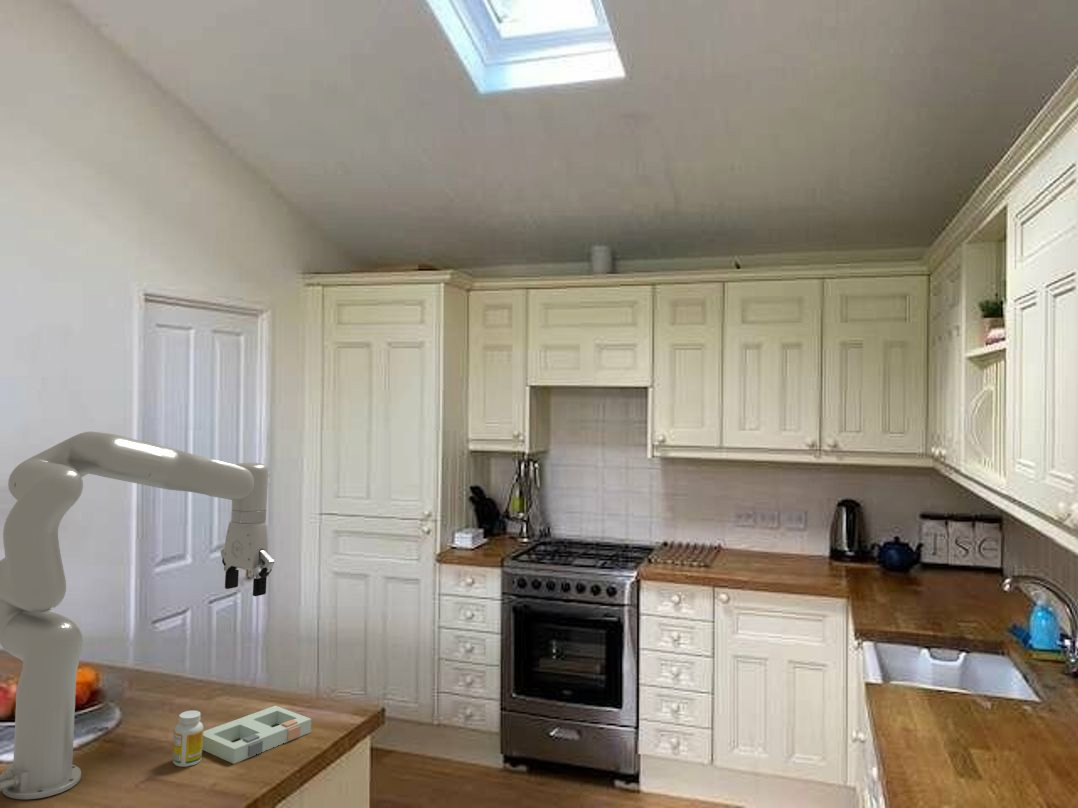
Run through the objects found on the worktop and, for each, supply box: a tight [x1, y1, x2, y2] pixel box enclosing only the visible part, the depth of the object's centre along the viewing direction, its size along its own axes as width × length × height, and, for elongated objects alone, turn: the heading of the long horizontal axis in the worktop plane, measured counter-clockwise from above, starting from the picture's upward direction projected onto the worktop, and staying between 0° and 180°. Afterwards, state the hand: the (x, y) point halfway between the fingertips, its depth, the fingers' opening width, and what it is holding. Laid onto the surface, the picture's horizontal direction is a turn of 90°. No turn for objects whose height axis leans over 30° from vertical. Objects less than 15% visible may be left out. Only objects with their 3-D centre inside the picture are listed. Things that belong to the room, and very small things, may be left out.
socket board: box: [202, 705, 312, 764], centre depth 176 cm, size 20×12×3 cm, turn 147°
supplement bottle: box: [172, 710, 204, 768], centre depth 164 cm, size 5×5×10 cm
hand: (245, 591), depth 187 cm, fingers open, 9 cm apart
